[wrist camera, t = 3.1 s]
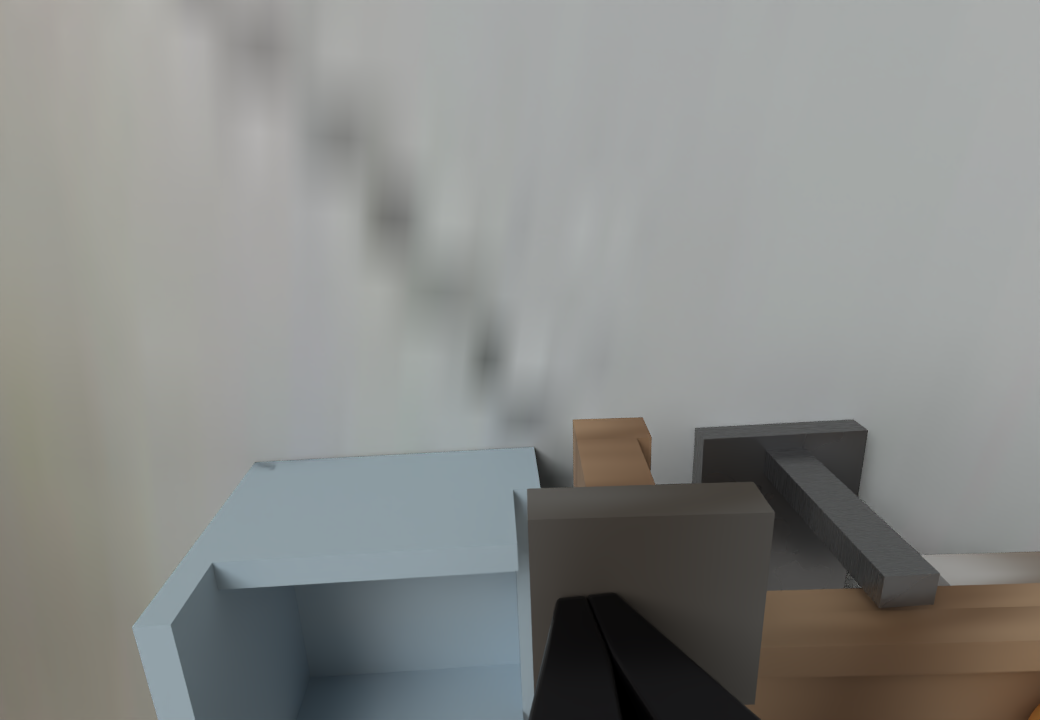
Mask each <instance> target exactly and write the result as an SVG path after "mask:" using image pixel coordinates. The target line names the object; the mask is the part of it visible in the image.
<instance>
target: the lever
mask: <svg viewBox="0 0 1040 720" xmlns="http://www.w3.org/2000/svg"><path fill="white" fill-rule="evenodd" d="M651 439H652V437H651V435H650V433H649V431H648V429H647V426H646V424H645V422H644V420H643V418H642V417H641V418H610V419H579V420H573V474H574V487H562V488H530V489H527V514H528V544H529V571H530V598H531V625H532V652H533V680H534V693H535V689H536V684H537V680H538V676H539V672H540V667H541V663H542V659H543V655H544V650H545V646H546V642H547V638H548V633H549V629H550V625H551V621H552V616H553V612H554V608H555V604H556V601H557V599H559V598H562V597H571V596H580V595H581V596H584V597H586V598H587V596H589V595H591V594H599V593H609V592H613V593H616V594H618V595H619V596H620V597H621V598H623V599H624V600H625V601H626V602H627V603H628V604H629V605H631V606H632V607H633V608H634V609H635V610H636V611H637V612H639V613H640V614H641V615H642V616H643V617H644V618H645V619H647V620H648V621H649V622H650V623H651V624H652V625H653V626H655V627H656V628H657V629H658V630H659V631H660V632H661V633H663V634H664V635H665V636H666V637H667V638H668V639H669V640H671V641H672V642H673V643H674V644H675V645H676V646H677V647H679V648H680V649H681V650H682V651H683V652H684V653H686V654H687V655H688V656H689V657H690V658H691V659H692V660H694V661H695V662H696V663H697V664H698V665H699V666H700V667H702V668H703V669H704V670H705V671H706V672H707V673H708V674H710V675H711V676H712V677H713V678H714V679H715V680H716V681H718V682H719V683H720V684H721V685H722V686H723V687H724V688H726V689H727V690H728V691H729V692H730V693H731V694H732V695H734V696H735V697H736V698H737V699H738V700H739V701H740V702H742V703H743V704H744V705H745V706H746V707H747V708H748V709H750V710H751V711H752V712H753V713H754V714H755V715H756V716H758V717H759V718H760V719H761V720H1028V719H1029V717H1030V715H1031V714H1032V712H1033V711H1034V710H1035V708H1036V707H1037V706H1038V705H1039V704H1040V552H1008V553H974V554H939V555H921V556H922V557H923V558H924V559H925V560H926V561H927V562H928V563H929V564H931V565H932V566H933V567H934V568H935V569H936V570H937V571H938V572H939V573H940V576H939V581H938V586H937V591H936V595H935V600H934V605H919V606H904V607H888V608H879V607H878V606H877V605H876V604H875V603H874V601H873V600H872V599H871V598H870V597H869V596H868V594H867V593H866V592H865V591H864V590H863V589H862V588H849V589H814V590H779V591H767V584H768V574H769V565H770V555H771V546H772V536H773V527H774V517H775V512H774V510H773V509H772V507H771V506H770V505H769V503H768V502H767V500H766V499H765V498H764V496H763V495H762V493H761V492H760V490H759V489H758V488H757V486H756V485H755V483H754V482H725V483H692V484H660V485H655V483H654V480H653V478H652V475H651V473H650V470H651Z"/></svg>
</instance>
